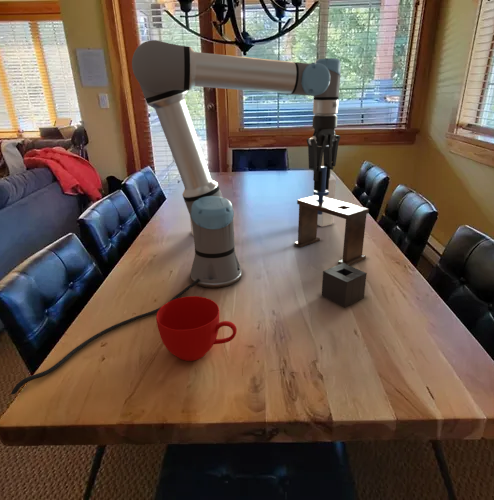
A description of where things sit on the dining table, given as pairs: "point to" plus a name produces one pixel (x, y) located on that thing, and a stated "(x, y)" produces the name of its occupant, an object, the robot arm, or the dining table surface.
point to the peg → (323, 189)
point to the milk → (325, 217)
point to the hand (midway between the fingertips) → (321, 189)
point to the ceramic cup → (191, 326)
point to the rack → (340, 209)
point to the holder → (343, 284)
